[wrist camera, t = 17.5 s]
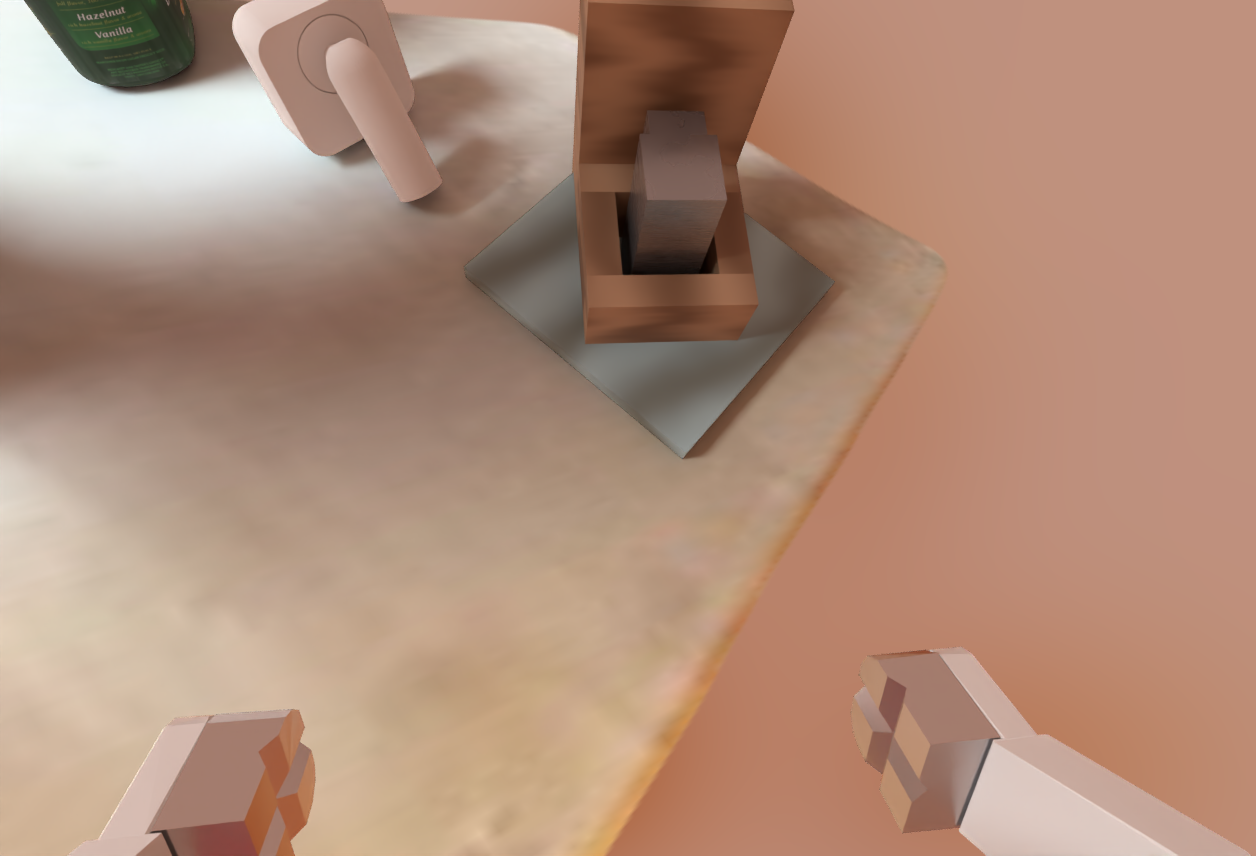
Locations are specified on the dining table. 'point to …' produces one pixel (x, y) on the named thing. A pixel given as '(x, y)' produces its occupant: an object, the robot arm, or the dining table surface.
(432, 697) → the dining table surface
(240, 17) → the wall hook
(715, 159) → the pin
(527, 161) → the dining table surface
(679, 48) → the wooden square ring bracket
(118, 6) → the coffee jar
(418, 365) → the dining table surface
